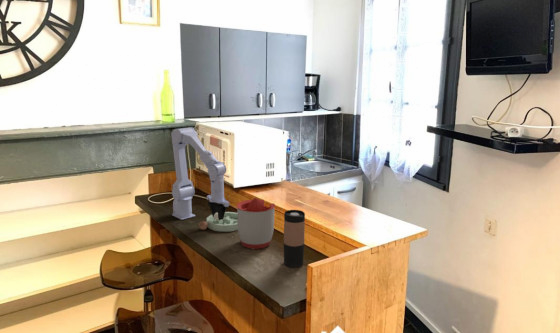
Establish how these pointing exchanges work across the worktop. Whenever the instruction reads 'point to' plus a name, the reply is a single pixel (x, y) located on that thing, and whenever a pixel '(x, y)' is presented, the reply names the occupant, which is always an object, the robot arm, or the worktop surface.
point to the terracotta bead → (203, 225)
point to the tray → (221, 226)
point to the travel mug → (294, 238)
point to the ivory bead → (216, 217)
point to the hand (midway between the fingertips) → (218, 217)
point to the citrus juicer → (255, 223)
